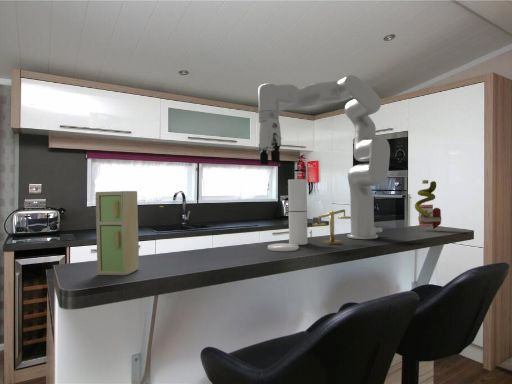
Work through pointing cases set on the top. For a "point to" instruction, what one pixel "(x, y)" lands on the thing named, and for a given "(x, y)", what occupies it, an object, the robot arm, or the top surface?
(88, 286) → the top surface
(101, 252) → the toy refrigerator
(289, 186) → the cylindrical container
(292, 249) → the dish
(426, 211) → the snake in a can
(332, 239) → the balance
